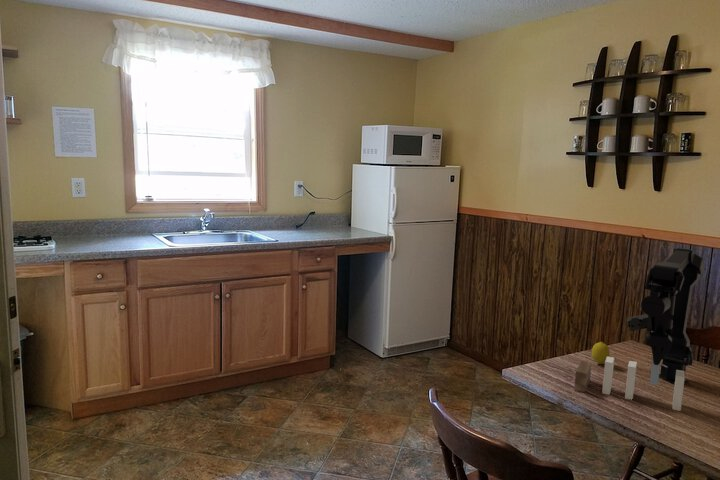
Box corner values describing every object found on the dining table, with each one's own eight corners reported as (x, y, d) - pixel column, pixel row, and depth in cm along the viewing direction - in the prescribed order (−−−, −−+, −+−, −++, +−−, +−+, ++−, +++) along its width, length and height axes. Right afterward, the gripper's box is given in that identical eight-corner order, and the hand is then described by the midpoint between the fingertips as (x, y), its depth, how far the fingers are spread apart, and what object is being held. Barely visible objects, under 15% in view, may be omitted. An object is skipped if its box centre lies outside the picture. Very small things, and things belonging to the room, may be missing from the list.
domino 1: (611, 388, 157) (614, 357, 156) (609, 394, 153) (612, 363, 151) (604, 387, 158) (607, 356, 157) (602, 393, 154) (605, 361, 152)
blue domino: (658, 379, 150) (662, 346, 148) (657, 385, 146) (661, 351, 144) (650, 377, 151) (654, 345, 150) (649, 383, 147) (653, 350, 145)
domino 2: (633, 393, 154) (636, 362, 152) (632, 400, 150) (635, 367, 148) (626, 392, 155) (629, 360, 153) (624, 398, 151) (627, 366, 149)
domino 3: (680, 404, 148) (684, 371, 146) (680, 411, 143) (684, 377, 142) (672, 402, 149) (676, 369, 147) (672, 409, 144) (676, 375, 143)
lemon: (611, 367, 174) (613, 344, 172) (594, 367, 174) (596, 344, 173) (603, 361, 179) (605, 339, 178) (588, 361, 179) (589, 339, 178)
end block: (589, 380, 162) (591, 362, 162) (584, 392, 154) (586, 373, 153) (579, 378, 164) (581, 360, 163) (574, 390, 156) (575, 371, 155)
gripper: (632, 297, 157) (627, 346, 160) (627, 312, 141) (622, 366, 144) (675, 303, 151) (669, 354, 154) (674, 319, 136) (668, 375, 138)
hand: (656, 361), depth 147 cm, fingers closed on blue domino, 5 cm apart
